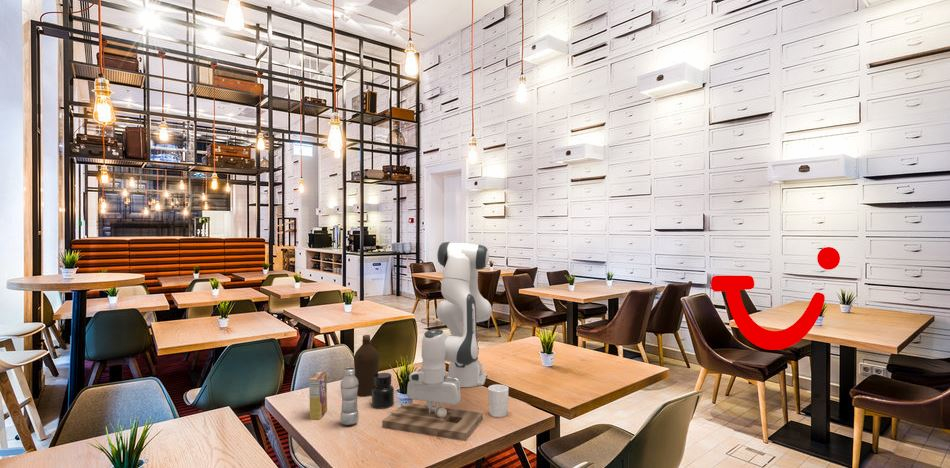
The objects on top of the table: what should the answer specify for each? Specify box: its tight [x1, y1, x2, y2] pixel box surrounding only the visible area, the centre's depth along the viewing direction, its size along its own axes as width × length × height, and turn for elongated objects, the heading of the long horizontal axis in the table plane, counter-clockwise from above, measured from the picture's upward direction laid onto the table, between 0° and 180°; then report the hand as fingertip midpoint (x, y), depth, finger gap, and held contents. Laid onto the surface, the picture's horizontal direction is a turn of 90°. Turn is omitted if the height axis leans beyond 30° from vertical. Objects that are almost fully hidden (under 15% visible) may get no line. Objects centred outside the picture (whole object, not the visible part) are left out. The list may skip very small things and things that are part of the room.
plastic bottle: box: [339, 367, 360, 426], centre depth 163 cm, size 6×7×20 cm
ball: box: [437, 407, 447, 418], centre depth 162 cm, size 4×4×4 cm
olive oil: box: [353, 334, 380, 397], centre depth 195 cm, size 11×11×25 cm
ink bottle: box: [371, 372, 395, 409], centre depth 181 cm, size 10×9×12 cm
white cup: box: [487, 384, 509, 418], centre depth 172 cm, size 8×8×10 cm
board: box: [381, 402, 484, 441], centre depth 163 cm, size 32×18×4 cm, turn 71°
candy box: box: [308, 371, 328, 421], centre depth 171 cm, size 9×4×15 cm, turn 2°
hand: (433, 413), depth 163 cm, fingers closed
